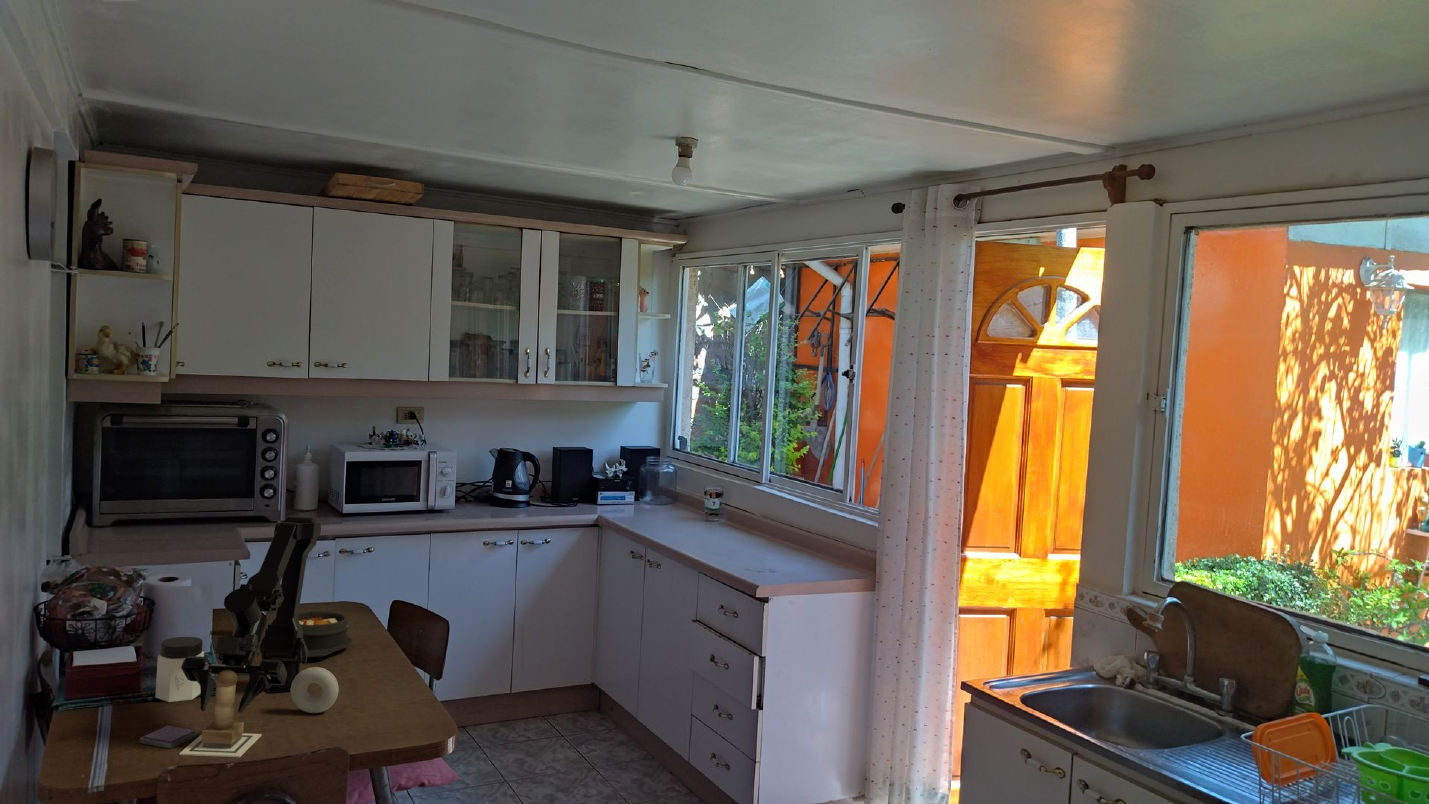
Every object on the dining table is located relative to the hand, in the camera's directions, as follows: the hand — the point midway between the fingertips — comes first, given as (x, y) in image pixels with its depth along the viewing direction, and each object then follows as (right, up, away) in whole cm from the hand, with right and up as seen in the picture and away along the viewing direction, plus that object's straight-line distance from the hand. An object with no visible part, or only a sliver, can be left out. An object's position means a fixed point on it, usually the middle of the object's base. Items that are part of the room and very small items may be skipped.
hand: (220, 711), depth 189 cm
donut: (+9, -8, +22) cm, 25 cm away
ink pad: (-11, -6, +2) cm, 13 cm away
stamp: (-1, -7, +2) cm, 7 cm away
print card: (-1, -7, +2) cm, 7 cm away
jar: (-22, -5, +26) cm, 35 cm away
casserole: (-9, -5, +65) cm, 66 cm away
